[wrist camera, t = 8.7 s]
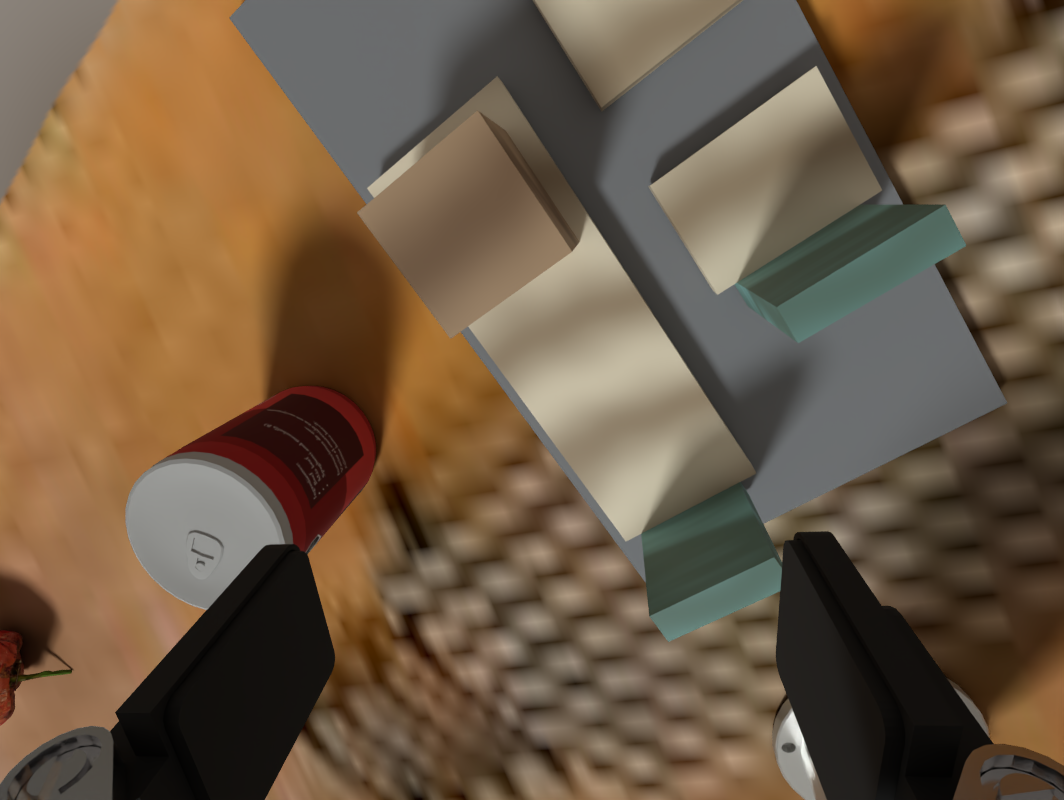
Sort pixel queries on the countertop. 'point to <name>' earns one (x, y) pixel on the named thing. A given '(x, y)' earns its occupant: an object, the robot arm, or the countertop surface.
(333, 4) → the mat
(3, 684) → the pomegranate
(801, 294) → the broken strip
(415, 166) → the cube
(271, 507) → the canned food
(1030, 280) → the countertop surface
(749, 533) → the strip
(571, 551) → the countertop surface
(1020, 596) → the countertop surface
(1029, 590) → the countertop surface
